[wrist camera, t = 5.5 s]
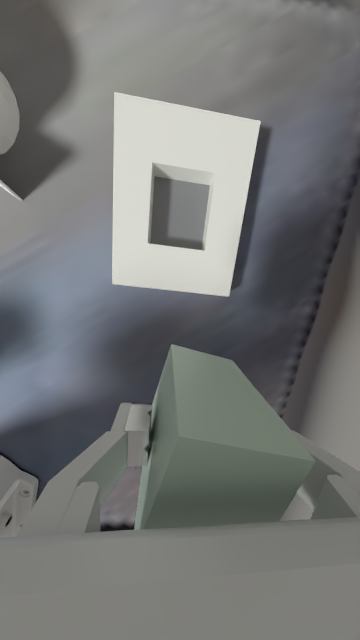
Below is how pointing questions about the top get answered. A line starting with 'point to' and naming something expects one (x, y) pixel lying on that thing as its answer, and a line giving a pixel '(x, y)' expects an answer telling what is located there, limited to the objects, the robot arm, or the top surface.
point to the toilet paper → (8, 122)
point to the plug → (215, 449)
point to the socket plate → (178, 194)
